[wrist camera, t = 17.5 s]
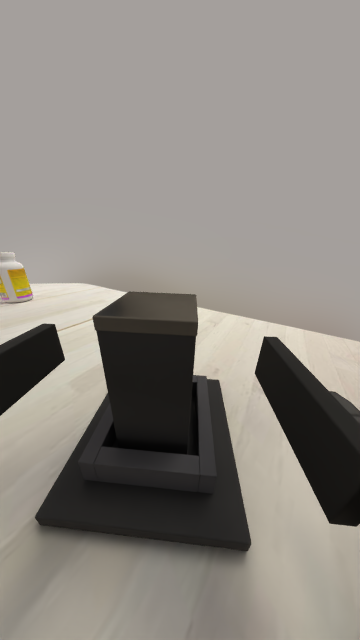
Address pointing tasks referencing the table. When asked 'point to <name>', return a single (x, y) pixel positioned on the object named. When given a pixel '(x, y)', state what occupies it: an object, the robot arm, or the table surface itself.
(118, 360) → the dark capped pillar
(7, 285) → the supplement bottle
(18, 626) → the table surface
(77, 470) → the pad
